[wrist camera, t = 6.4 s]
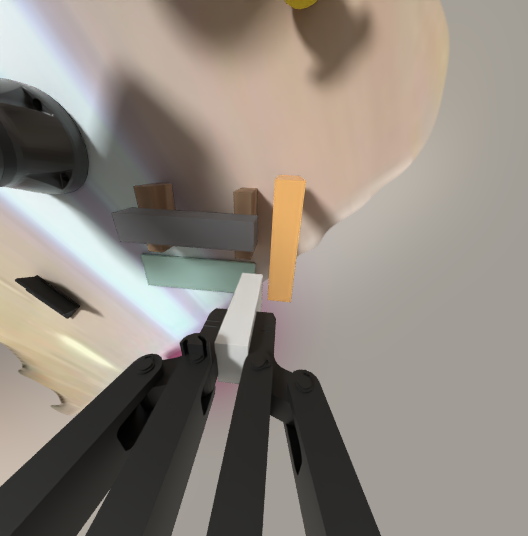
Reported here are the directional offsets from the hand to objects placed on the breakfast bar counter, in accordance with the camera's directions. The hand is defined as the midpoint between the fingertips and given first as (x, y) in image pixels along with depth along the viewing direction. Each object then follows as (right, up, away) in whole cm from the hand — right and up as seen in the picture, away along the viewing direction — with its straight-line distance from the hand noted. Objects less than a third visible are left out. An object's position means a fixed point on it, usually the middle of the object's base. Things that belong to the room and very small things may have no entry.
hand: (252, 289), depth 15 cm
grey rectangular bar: (-10, +8, +15) cm, 20 cm away
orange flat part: (+4, +9, +17) cm, 20 cm away
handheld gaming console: (-49, -4, +33) cm, 59 cm away
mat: (-12, 0, +26) cm, 29 cm away
